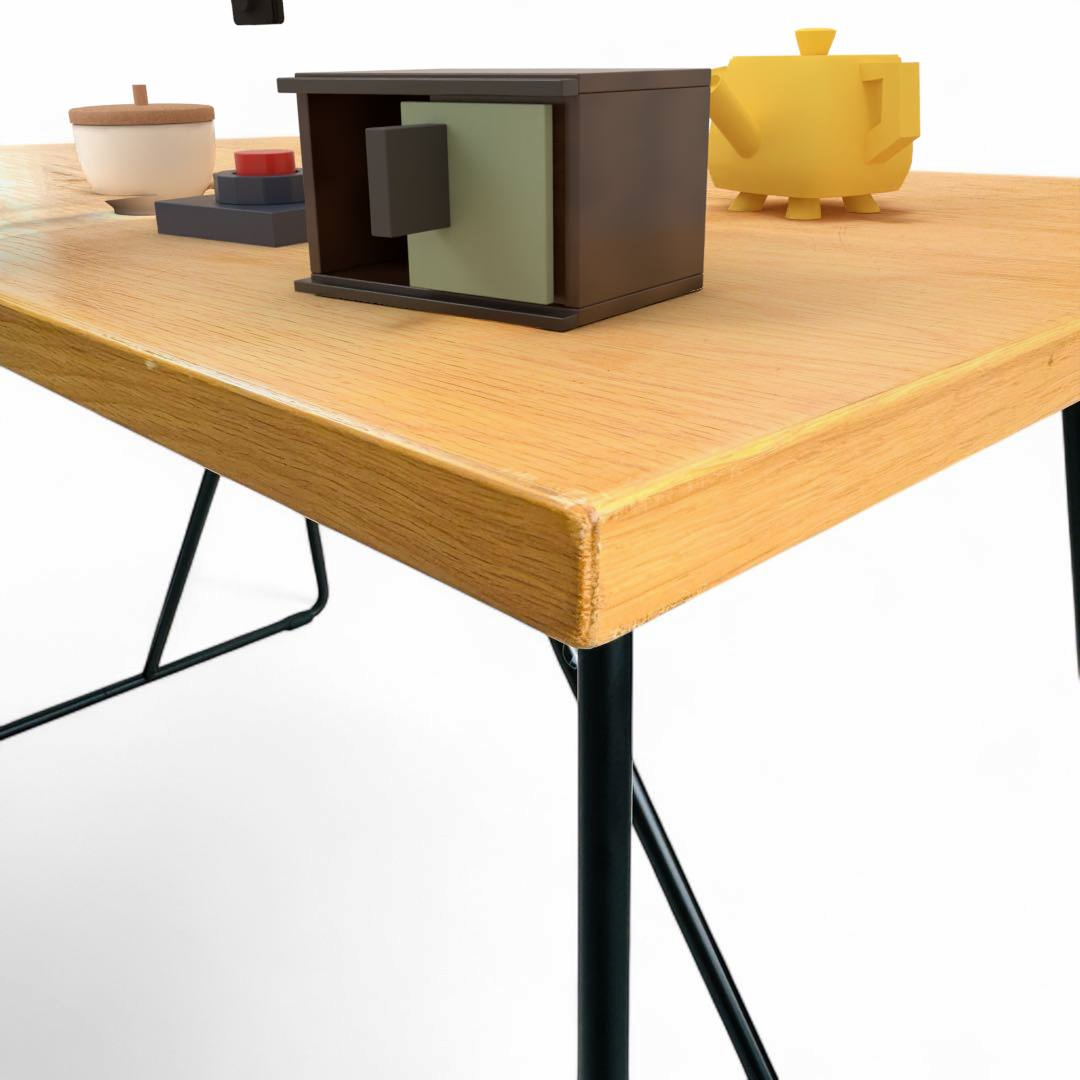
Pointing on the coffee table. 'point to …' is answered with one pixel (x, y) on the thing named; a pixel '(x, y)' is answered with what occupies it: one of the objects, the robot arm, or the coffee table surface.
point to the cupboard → (578, 185)
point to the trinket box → (145, 150)
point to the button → (265, 162)
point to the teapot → (813, 126)
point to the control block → (241, 211)
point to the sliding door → (468, 196)
